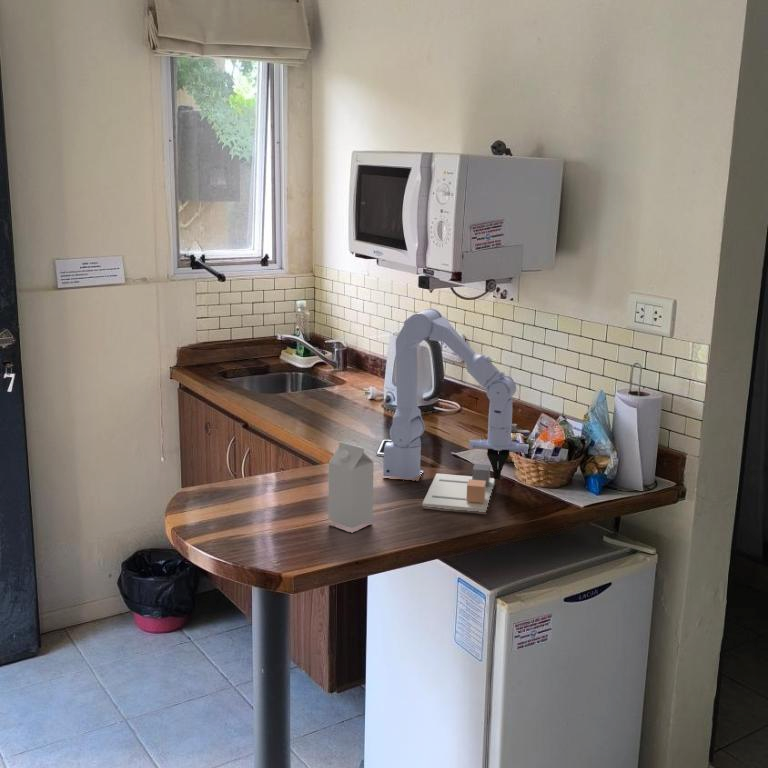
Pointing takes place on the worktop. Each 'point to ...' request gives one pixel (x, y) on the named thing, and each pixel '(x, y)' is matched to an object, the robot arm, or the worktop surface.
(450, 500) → the slider panel
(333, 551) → the worktop surface
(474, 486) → the terracotta slider
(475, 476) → the charcoal slider
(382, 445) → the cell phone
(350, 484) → the milk carton
